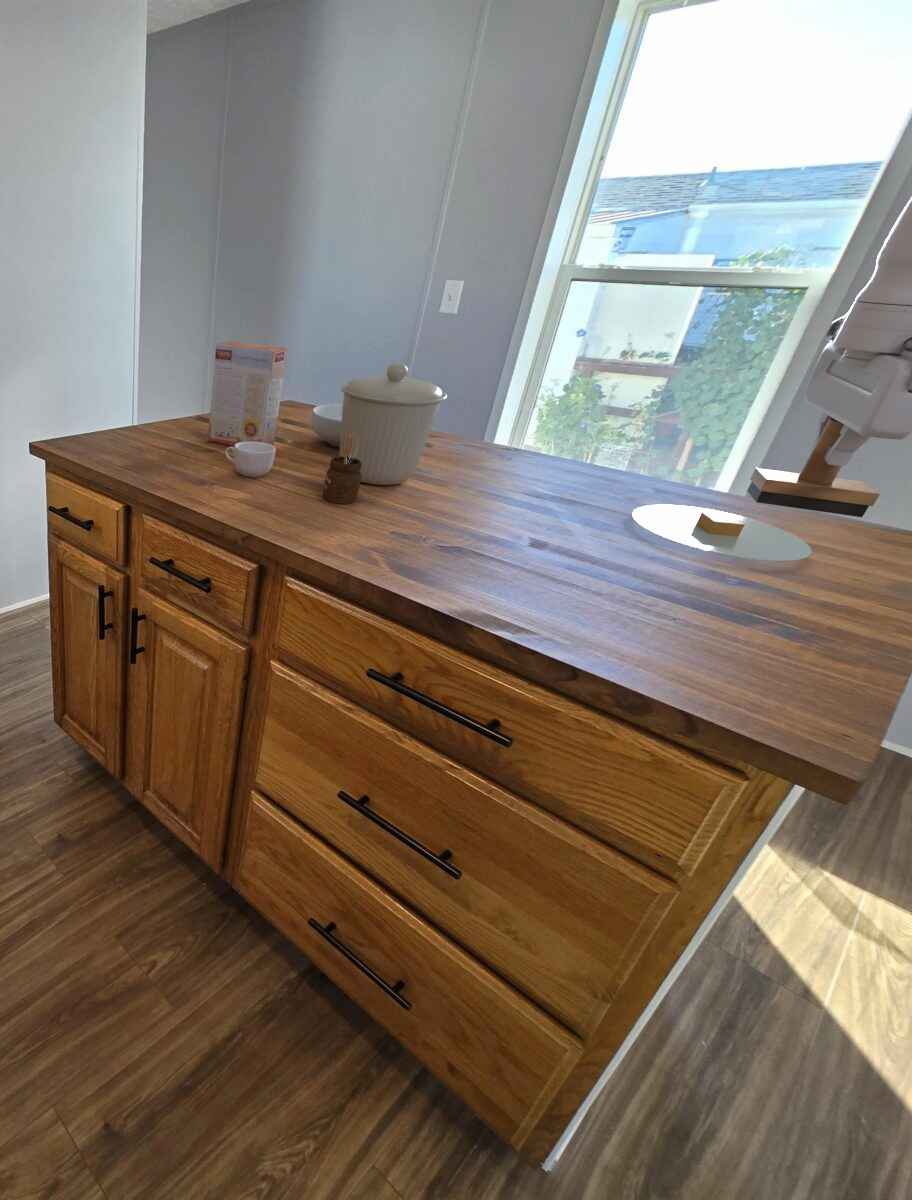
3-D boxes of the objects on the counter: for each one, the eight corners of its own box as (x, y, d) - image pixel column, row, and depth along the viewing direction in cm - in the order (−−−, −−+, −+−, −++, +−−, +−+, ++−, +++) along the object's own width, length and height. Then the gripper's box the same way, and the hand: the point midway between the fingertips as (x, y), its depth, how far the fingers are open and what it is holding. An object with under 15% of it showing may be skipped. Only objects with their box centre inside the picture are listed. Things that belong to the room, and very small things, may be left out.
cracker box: (274, 448, 143) (289, 347, 133) (259, 454, 139) (273, 350, 129) (222, 436, 151) (231, 339, 141) (206, 441, 147) (215, 342, 137)
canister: (337, 457, 138) (357, 352, 127) (429, 472, 130) (458, 361, 120) (315, 482, 124) (335, 366, 114) (416, 500, 116) (448, 377, 106)
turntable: (783, 530, 107) (788, 521, 106) (828, 583, 90) (834, 574, 89) (622, 504, 116) (625, 496, 116) (635, 548, 100) (639, 539, 99)
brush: (754, 502, 80) (797, 420, 75) (744, 490, 84) (784, 411, 79) (865, 518, 76) (918, 432, 71) (849, 505, 79) (898, 422, 75)
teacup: (278, 473, 128) (282, 446, 126) (262, 483, 123) (265, 455, 120) (232, 463, 133) (235, 437, 131) (214, 472, 128) (217, 445, 125)
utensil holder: (359, 496, 117) (373, 430, 112) (352, 507, 113) (367, 438, 107) (325, 490, 120) (337, 425, 114) (318, 501, 115) (330, 433, 109)
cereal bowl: (292, 442, 148) (297, 410, 144) (332, 429, 158) (338, 399, 154) (361, 459, 137) (368, 426, 133) (399, 445, 147) (407, 413, 143)
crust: (724, 526, 104) (730, 515, 103) (738, 536, 100) (745, 524, 99) (695, 523, 105) (701, 512, 104) (708, 533, 101) (714, 521, 100)
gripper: (990, 348, 61) (901, 489, 68) (897, 325, 77) (832, 442, 83) (897, 342, 64) (820, 479, 70) (825, 322, 79) (768, 435, 86)
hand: (826, 458), depth 77 cm, fingers closed on brush, 3 cm apart
